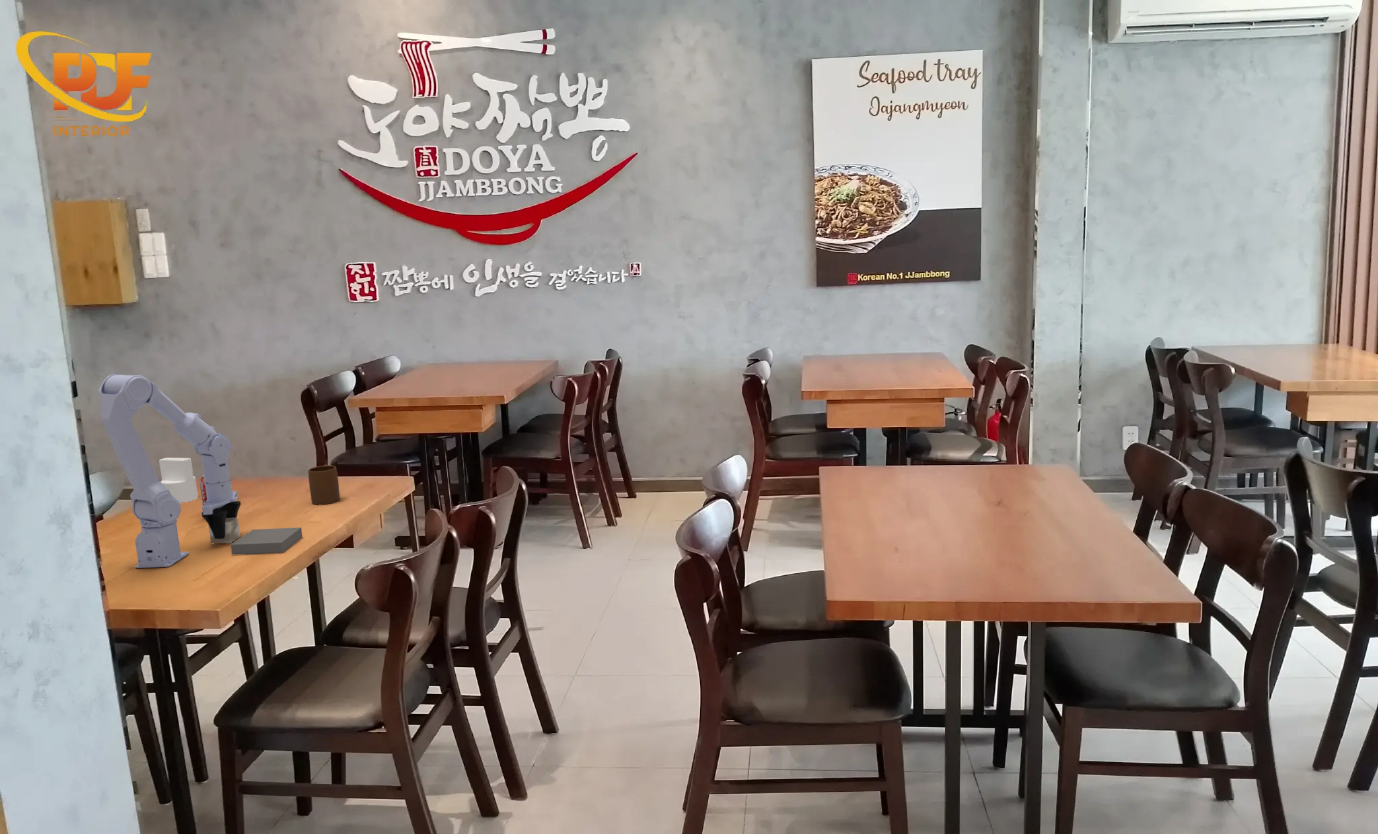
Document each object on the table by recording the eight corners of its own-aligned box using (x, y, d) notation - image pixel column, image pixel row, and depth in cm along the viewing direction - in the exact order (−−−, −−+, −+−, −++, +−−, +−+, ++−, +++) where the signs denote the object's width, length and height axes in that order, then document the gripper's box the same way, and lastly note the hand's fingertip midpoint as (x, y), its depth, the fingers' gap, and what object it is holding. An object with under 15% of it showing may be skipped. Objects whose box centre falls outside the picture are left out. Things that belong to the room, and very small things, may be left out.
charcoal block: (283, 554, 240) (281, 542, 240) (232, 557, 241) (230, 544, 240) (302, 539, 252) (301, 527, 252) (254, 541, 253) (252, 529, 252)
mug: (316, 495, 293) (312, 463, 291) (344, 492, 294) (340, 460, 292) (309, 506, 281) (305, 472, 279) (338, 503, 283) (334, 470, 281)
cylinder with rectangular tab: (156, 503, 293) (150, 462, 291) (180, 495, 301) (174, 455, 299) (181, 504, 290) (175, 463, 288) (205, 496, 299) (199, 455, 296)
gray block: (231, 543, 250) (228, 523, 249) (211, 544, 250) (208, 524, 249) (240, 537, 255) (237, 517, 254) (220, 537, 255) (217, 518, 254)
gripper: (220, 488, 243) (227, 543, 245) (247, 473, 257) (254, 525, 259) (190, 489, 243) (198, 544, 245) (219, 474, 257) (226, 526, 260)
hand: (225, 535), depth 252 cm, fingers closed on gray block, 5 cm apart
